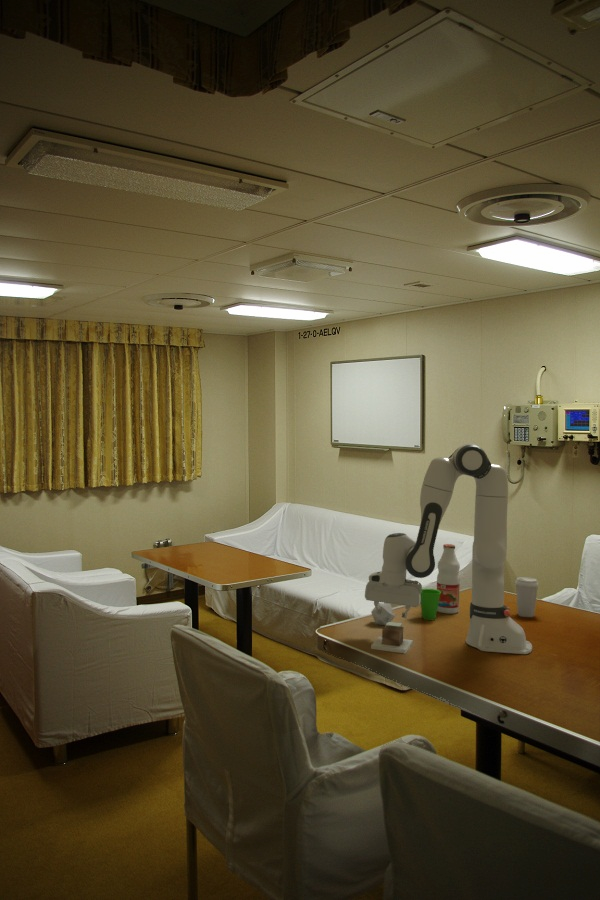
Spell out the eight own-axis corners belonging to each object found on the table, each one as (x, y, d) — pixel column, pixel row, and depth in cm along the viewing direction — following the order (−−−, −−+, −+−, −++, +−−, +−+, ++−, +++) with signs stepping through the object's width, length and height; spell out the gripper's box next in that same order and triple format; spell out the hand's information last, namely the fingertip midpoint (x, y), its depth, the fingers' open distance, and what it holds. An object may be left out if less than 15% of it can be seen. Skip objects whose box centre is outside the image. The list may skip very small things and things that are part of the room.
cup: (423, 614, 278) (424, 587, 278) (444, 618, 272) (444, 591, 272) (413, 618, 270) (414, 591, 270) (434, 622, 265) (435, 595, 265)
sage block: (401, 636, 246) (402, 623, 246) (398, 640, 241) (399, 626, 241) (388, 635, 247) (388, 621, 247) (385, 638, 243) (385, 625, 243)
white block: (380, 629, 256) (396, 609, 256) (364, 615, 260) (379, 595, 261) (386, 632, 263) (401, 612, 263) (370, 618, 267) (385, 599, 268)
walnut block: (403, 641, 236) (403, 627, 236) (399, 646, 230) (399, 631, 230) (386, 639, 238) (386, 624, 238) (382, 643, 232) (382, 629, 232)
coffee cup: (511, 611, 285) (513, 576, 285) (535, 612, 284) (536, 577, 284) (516, 617, 276) (517, 581, 275) (540, 618, 274) (541, 582, 274)
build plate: (412, 643, 238) (413, 639, 238) (405, 653, 226) (405, 649, 226) (379, 639, 242) (379, 635, 242) (371, 648, 231) (371, 644, 231)
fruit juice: (463, 611, 284) (465, 545, 283) (451, 615, 277) (452, 547, 276) (443, 607, 290) (445, 542, 290) (431, 610, 284) (433, 544, 283)
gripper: (424, 579, 243) (421, 617, 243) (369, 572, 250) (367, 609, 251) (420, 583, 237) (418, 622, 237) (364, 575, 245) (362, 613, 245)
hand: (391, 615), depth 244 cm, fingers open, 8 cm apart
